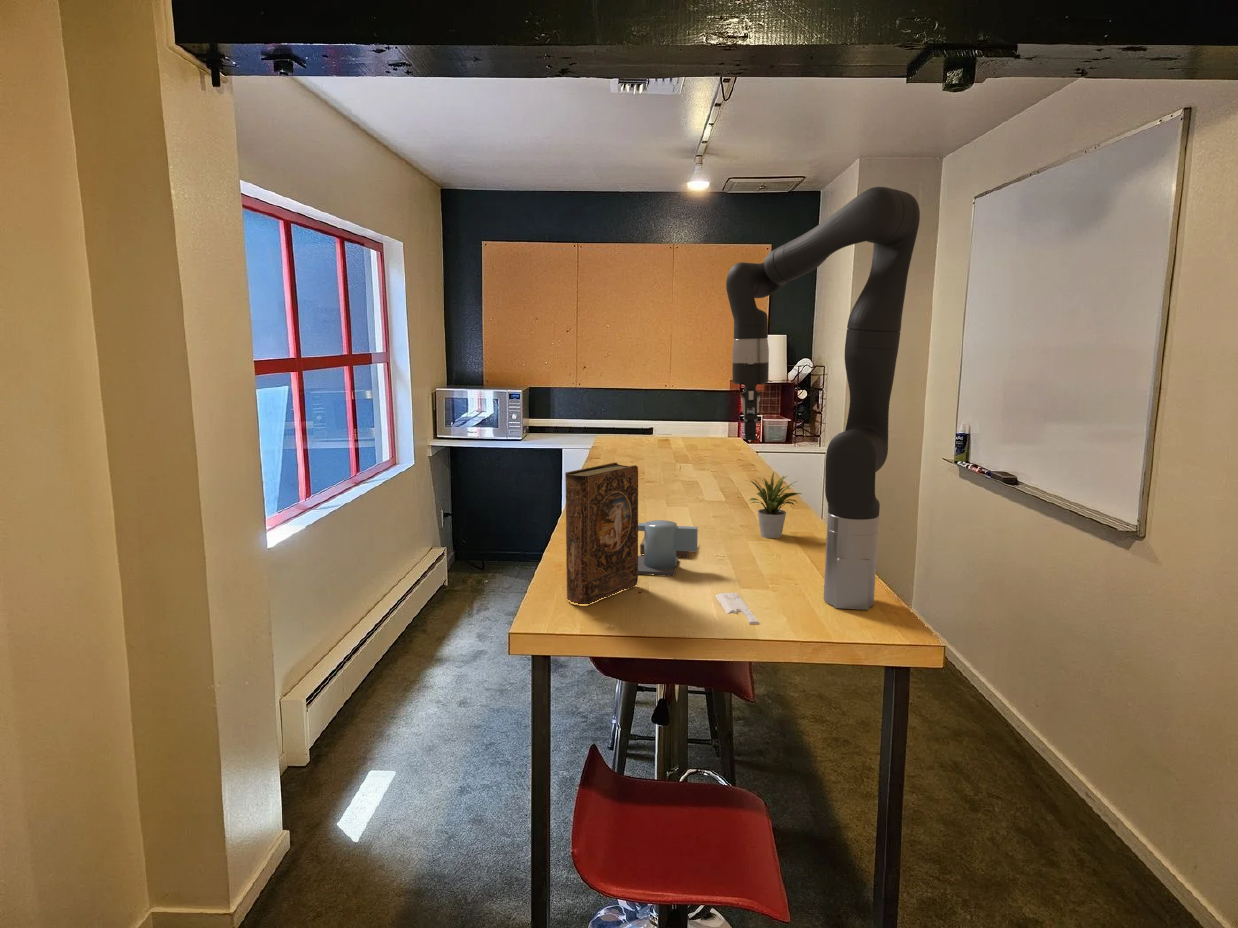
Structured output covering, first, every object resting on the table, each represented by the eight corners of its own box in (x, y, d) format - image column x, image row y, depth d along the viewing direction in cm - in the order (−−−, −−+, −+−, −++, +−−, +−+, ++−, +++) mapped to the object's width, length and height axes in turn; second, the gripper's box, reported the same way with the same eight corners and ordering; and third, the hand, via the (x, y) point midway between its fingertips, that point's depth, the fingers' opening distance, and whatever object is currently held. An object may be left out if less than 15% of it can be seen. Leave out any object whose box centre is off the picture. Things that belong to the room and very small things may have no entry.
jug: (636, 567, 162) (636, 527, 161) (640, 558, 169) (640, 519, 168) (695, 570, 160) (696, 529, 159) (697, 561, 167) (698, 521, 166)
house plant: (753, 545, 182) (755, 479, 179) (730, 531, 195) (731, 469, 192) (806, 541, 186) (809, 476, 183) (780, 527, 199) (782, 466, 196)
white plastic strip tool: (730, 626, 133) (730, 621, 133) (712, 598, 148) (712, 592, 148) (758, 625, 134) (758, 619, 133) (738, 596, 148) (738, 591, 148)
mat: (673, 576, 159) (673, 572, 159) (622, 573, 161) (622, 569, 161) (678, 560, 170) (678, 557, 170) (629, 558, 172) (629, 555, 172)
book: (583, 608, 141) (582, 476, 137) (562, 601, 144) (560, 473, 140) (638, 585, 153) (638, 464, 149) (617, 580, 157) (617, 461, 153)
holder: (687, 557, 173) (688, 546, 172) (640, 555, 174) (640, 544, 174) (691, 544, 183) (691, 534, 183) (646, 542, 185) (646, 532, 185)
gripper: (732, 360, 166) (732, 433, 168) (732, 362, 152) (732, 441, 155) (767, 359, 165) (766, 433, 167) (770, 361, 151) (769, 441, 153)
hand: (750, 437), depth 161 cm, fingers open, 8 cm apart
